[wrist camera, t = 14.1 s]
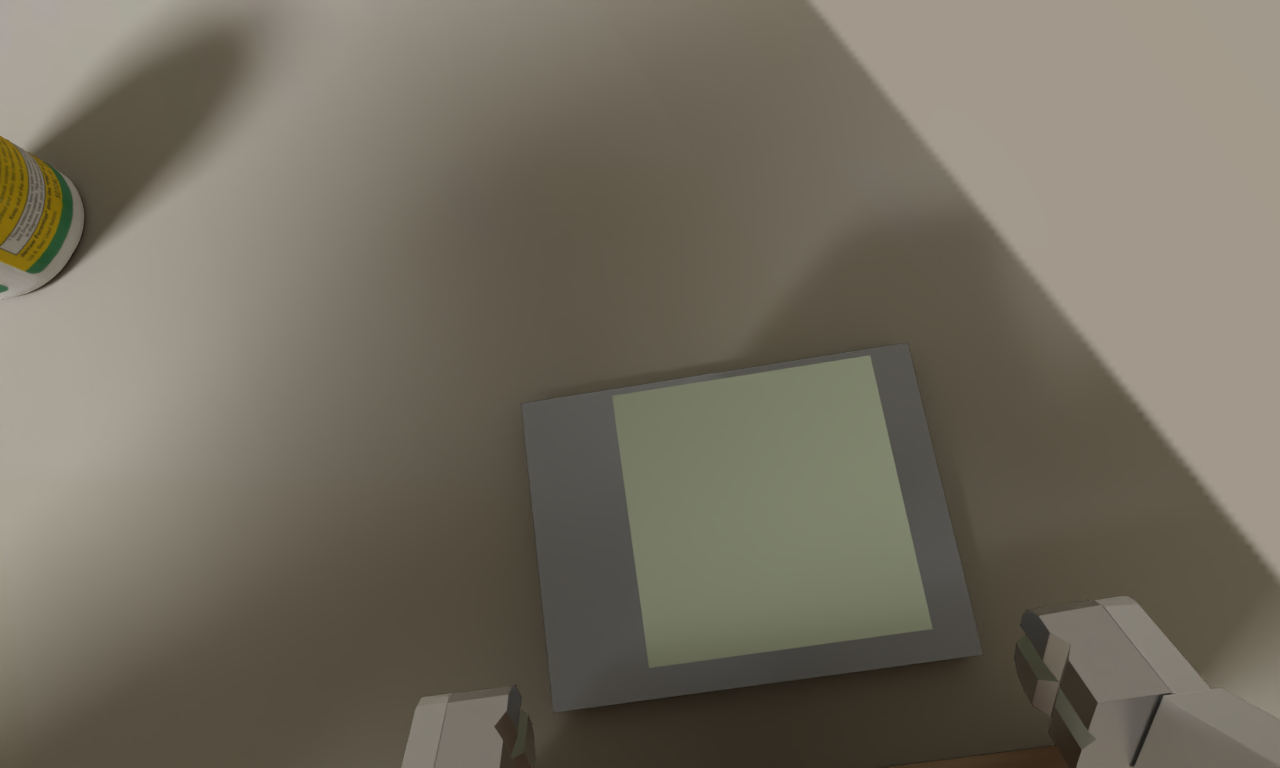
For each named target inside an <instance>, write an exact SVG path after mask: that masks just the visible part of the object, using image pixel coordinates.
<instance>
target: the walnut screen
mask: <svg viewBox="0 0 1280 768" xmlns="http://www.w3.org/2000/svg"><path fill="white" fill-rule="evenodd" d="M884 768H1069V766H1068V764H1067V763H1066V761H1065V759H1064V758H1063V756H1062V754H1061V753H1060V751H1059V749H1058V748H1057V746H1048V747H1040V748H1032V749H1025V750H1017V751H1009V752H1001V753H993V754H986V755H978V756H970V757H962V758H954V759H946V760H939V761H931V762H923V763H915V764H907V765H900V766H892V767H884Z"/></svg>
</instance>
